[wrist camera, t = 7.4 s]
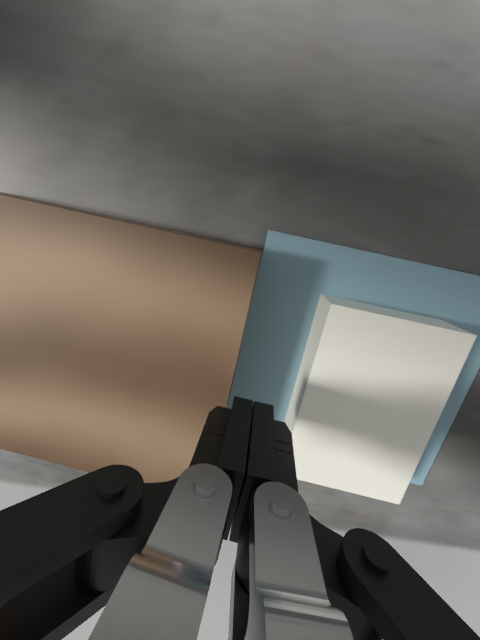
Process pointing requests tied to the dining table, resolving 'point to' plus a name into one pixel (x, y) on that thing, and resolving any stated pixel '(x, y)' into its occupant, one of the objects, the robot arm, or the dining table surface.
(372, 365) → the white bevelled block
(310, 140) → the dining table surface
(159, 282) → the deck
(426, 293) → the mat
